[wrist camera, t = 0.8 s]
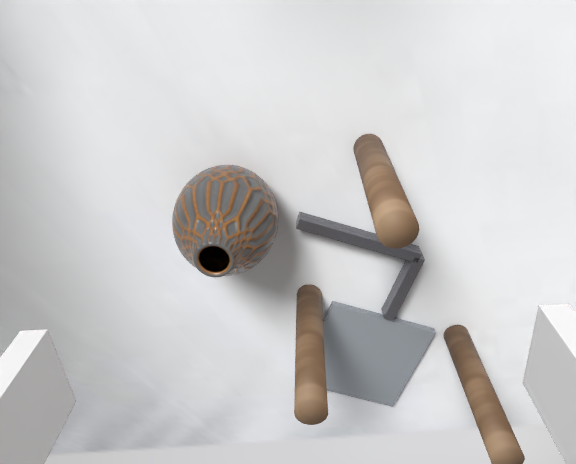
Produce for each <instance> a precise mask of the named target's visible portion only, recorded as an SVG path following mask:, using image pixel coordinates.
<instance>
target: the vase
mask: <svg viewBox="0 0 576 464" xmlns="http://www.w3.org/2000/svg"><path fill="white" fill-rule="evenodd" d="M172 223H173V233H174V238H175V241H176V244H177V246H178V248H179V250H180V252H181V253H182V255H183V256H184V257H185V258H186V260H187V261H188V262H189V263H191V264H192V265H193V266H194V267H196V268H197V269H198V270H199V271H200V272H201V273H203V274H205V275H207V276H210V277H221V276H230V275H236V274H239V273H242V272H245V271H247V270H249V269H250V268H252V267H253V266H255V265H256V264H257V263H258V262H259V261H261V260H262V258H263V257H264V256H265V255H266V254H267V252H268V251H269V249H270V248H271V246H272V244H273V241H274V239H275V236H276V232H277V227H278V211H277V205H276V201H275V199H274V196H273V194H272V192H271V190H270V189H269V187H268V186H267V184H266V183H265V182H264V181H263V180H262V179H261V178H260V177H259V176H258V175H256V174H255V173H253V172H252V171H250V170H248V169H245V168H242V167H239V166H234V165H220V166H215V167H212V168H209V169H206V170H204V171H202V172H200V173H199V174H197V175H196V176H195V177H193V178H192V179H191V180H190V181H189V182H188V183H187V184H186V186H185V187H184V188H183V190H182V191H181V193H180V195H179V197H178V199H177V201H176V204H175V207H174V212H173V222H172Z"/></svg>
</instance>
